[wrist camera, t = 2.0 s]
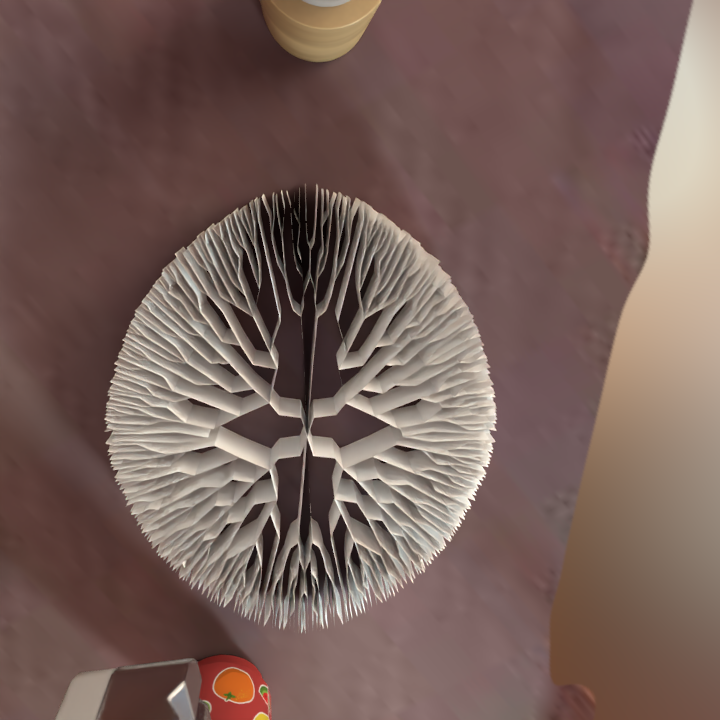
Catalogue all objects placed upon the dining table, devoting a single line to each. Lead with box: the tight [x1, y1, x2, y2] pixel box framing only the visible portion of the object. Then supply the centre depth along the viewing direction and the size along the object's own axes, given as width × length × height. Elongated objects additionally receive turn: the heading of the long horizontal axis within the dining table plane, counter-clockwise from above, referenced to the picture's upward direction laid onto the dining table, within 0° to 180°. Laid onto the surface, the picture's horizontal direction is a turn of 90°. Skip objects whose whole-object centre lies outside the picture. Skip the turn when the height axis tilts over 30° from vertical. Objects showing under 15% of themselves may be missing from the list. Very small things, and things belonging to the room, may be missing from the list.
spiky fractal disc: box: [104, 184, 497, 634], centre depth 37 cm, size 22×28×3 cm
